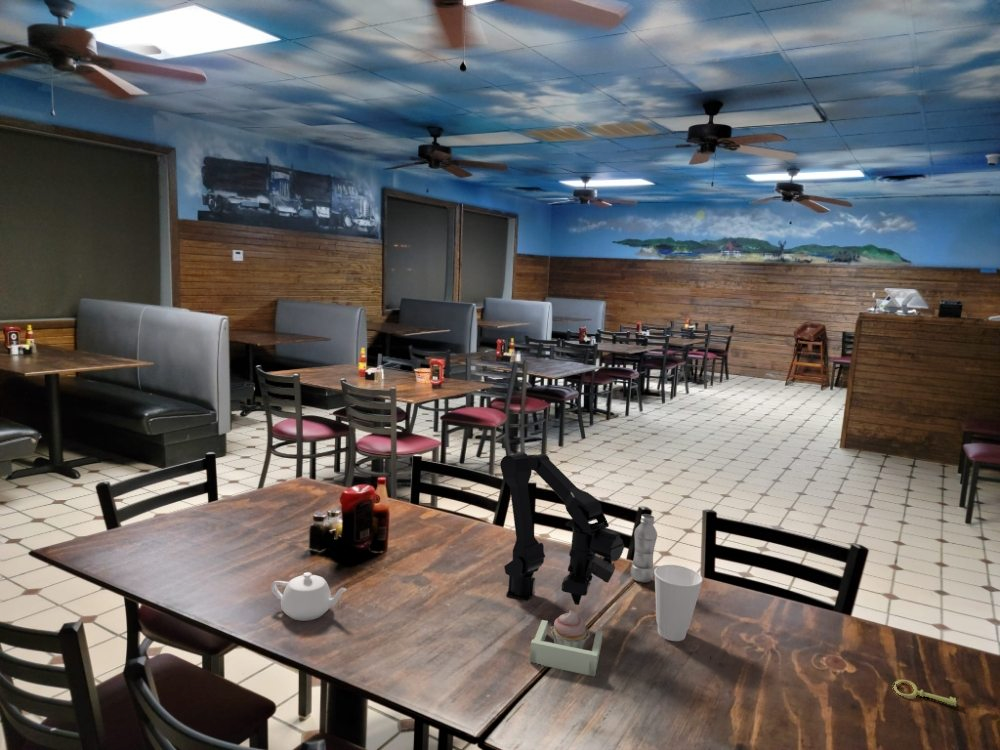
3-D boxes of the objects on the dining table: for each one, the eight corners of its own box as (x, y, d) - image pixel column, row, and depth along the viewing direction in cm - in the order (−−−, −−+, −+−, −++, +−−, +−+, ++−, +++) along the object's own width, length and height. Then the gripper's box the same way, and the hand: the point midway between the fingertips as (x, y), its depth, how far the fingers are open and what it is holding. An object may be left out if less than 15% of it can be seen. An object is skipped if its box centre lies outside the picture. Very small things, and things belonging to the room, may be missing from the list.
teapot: (355, 606, 172) (356, 569, 171) (334, 631, 160) (335, 591, 159) (284, 594, 176) (284, 558, 174) (258, 617, 164) (259, 578, 162)
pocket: (529, 662, 153) (531, 642, 152) (540, 632, 166) (542, 614, 165) (594, 676, 149) (596, 655, 148) (601, 645, 162) (603, 626, 161)
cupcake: (564, 634, 166) (568, 597, 164) (595, 651, 159) (599, 612, 158) (540, 648, 159) (543, 609, 158) (571, 665, 153) (574, 625, 151)
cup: (696, 628, 173) (703, 570, 171) (694, 651, 162) (701, 589, 160) (650, 617, 177) (656, 560, 175) (644, 639, 166) (651, 579, 163)
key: (958, 712, 146) (960, 703, 146) (896, 698, 150) (897, 690, 149) (947, 693, 153) (948, 684, 153) (887, 681, 156) (888, 672, 156)
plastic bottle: (652, 586, 195) (660, 521, 192) (629, 583, 196) (636, 518, 193) (652, 577, 201) (659, 514, 198) (629, 573, 202) (636, 511, 199)
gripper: (610, 568, 158) (603, 628, 161) (618, 539, 176) (612, 594, 178) (564, 559, 161) (558, 619, 163) (576, 531, 179) (571, 586, 181)
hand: (576, 604), depth 172 cm, fingers closed
